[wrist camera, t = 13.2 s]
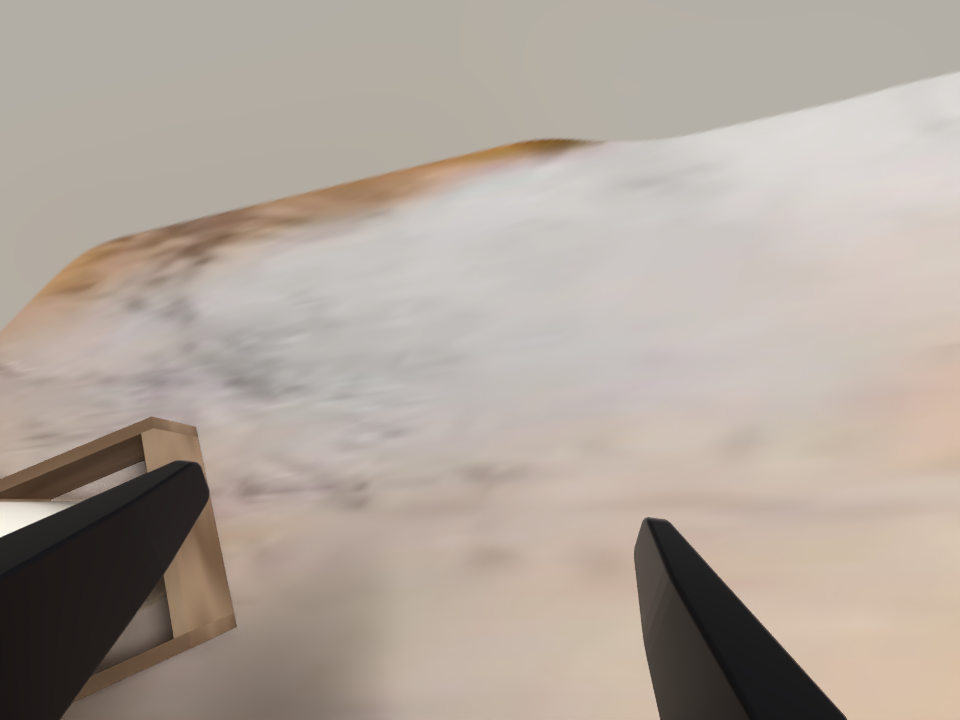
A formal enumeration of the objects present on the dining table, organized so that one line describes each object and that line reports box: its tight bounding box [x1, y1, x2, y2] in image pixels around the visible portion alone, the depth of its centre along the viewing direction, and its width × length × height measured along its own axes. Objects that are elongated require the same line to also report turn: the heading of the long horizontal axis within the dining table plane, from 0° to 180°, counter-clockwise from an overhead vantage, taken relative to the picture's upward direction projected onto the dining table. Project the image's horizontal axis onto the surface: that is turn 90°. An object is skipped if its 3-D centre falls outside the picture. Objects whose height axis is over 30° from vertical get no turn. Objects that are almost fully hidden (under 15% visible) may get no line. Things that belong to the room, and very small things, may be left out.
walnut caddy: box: [0, 417, 237, 702], centre depth 19 cm, size 10×18×3 cm, turn 113°
